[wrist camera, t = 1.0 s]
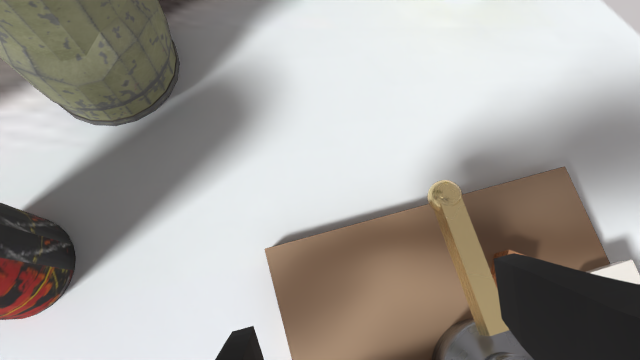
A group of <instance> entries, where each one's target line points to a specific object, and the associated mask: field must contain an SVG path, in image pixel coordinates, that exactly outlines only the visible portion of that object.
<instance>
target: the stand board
mask: <svg viewBox="0 0 640 360" xmlns="http://www.w3.org/2000/svg"><path fill="white" fill-rule="evenodd" d="M462 196H463V198H462V199H463V202H464V205H465V207H466V210H467V212H468V215H469V217H470V220H471V223H472V225H473V228H474V230H475V233H476V235H477V238H478V241H479V243H480V246H481V248H482V251H483V254H484V256H485V259H486V261H487V264H488V266H489V269H490V272H491V268H492V263H493V258H494V254H495V253H498V252H502V251H506V250H512V251H514V252H517V253H520V254H523V255H526V256H529V257H533V258H536V259H540V260H544V261H547V262H551V263H554V264H558V265H562V266H565V267H569V268H572V269H576V270H580V271H584V272H586V271H590V270H593V269H596V268H599V267H602V266H605V265H609V264H610V262H609V260H608V258H607V256H606V254H605V252H604V249H603V247H602V245H601V243H600V241H599V239H598V236H597V234H596V232H595V230H594V228H593V226H592V224H591V221H590V219H589V217H588V215H587V213H586V211H585V209H584V206H583V204H582V202H581V200H580V198H579V196H578V193H577V191H576V189H575V187H574V185H573V183H572V181H571V178H570V176H569V174H568V172H567V170H566V168H565V167H561V168H557V169H554V170H550V171H546V172H543V173H539V174H535V175H532V176H528V177H525V178H521V179H517V180H514V181H510V182H506V183H503V184H499V185H495V186H492V187H488V188H484V189H481V190H477V191H474V192H470V193H466V194H463V195H462ZM265 253H266V257H267V261H268V265H269V269H270V273H271V277H272V281H273V285H274V289H275V293H276V297H277V301H278V305H279V309H280V313H281V317H282V321H283V325H284V329H285V333H286V337H287V341H288V345H289V349H290V353H291V357H292V360H431V359H432V354H433V351H434V348H435V346H436V344H437V342H438V340H439V339H440V337H441V336H442V335H443V333H444V332H445V331H446V330H447V329H449V328H450V327H451V326H452V325H454V324H456V323H458V322H460V321H462V320H466V319H470V318H473V316H472V313H471V310H470V308H469V305H468V302H467V299H466V297H465V294H464V291H463V288H462V286H461V283H460V280H459V278H458V275H457V272H456V269H455V267H454V264H453V261H452V258H451V256H450V253H449V250H448V248H447V245H446V242H445V239H444V237H443V234H442V231H441V228H440V226H439V223H438V220H437V217H436V215H435V212H434V209H432V207H431V206H430V205H429V204H426V205H423V206H419V207H415V208H412V209H408V210H404V211H401V212H397V213H394V214H390V215H386V216H383V217H379V218H375V219H372V220H368V221H364V222H361V223H357V224H353V225H350V226H346V227H343V228H339V229H335V230H332V231H328V232H324V233H321V234H317V235H313V236H310V237H306V238H303V239H299V240H295V241H292V242H288V243H284V244H281V245H277V246H273V247H270V248H266V249H265Z"/></svg>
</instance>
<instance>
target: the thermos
mask: <svg viewBox="0 0 640 360" xmlns="http://www.w3.org/2000/svg"><path fill="white" fill-rule="evenodd" d="M0 58H2V59H3V60H4V61H5V62H6V63H7V64H8V65H10V66H11V67H12V68H13V69H14V70H15V71H17V72H18V73H19V74H20V75H21V76H22V77H24V78H25V79H26V80H27V81H28V82H29V83H30V84H32V85H33V86H34V87H35V88H36V89H37V90H39V91H40V92H41V93H43V94H44V95H45V96H46V97H48V98H49V99H50V100H52V101H53V102H55V103H57V104H59V105H60V106H61V107H62V108H63V109H65V110H66V111H67V112H69V113H70V114H71V115H72V116H74V117H75V118H76V119H79V120H82V121H85V122H88V123H91V124H94V125H108V126H117V125H121V124H125V123H130V122H134V121H137V120H139V119H141V118H143V117H144V116H146V115H148V114H150V113H152V112H153V111H155V110H156V109H157V108H158V107H159V106H160V105H161V104H162V103H163V102H164V101H165V100H166V99H167V98H168V97H169V95H170V93H171V91H172V89H173V87H174V86H175V84H176V82H177V79H178V70H179V59H178V55H177V51H176V47H175V44H174V42H173V40H172V39H171V35H170V31H169V27H168V23H167V20H166V18H165V16H164V13H163V11H162V9H161V6H160V4H159V2H158V0H0Z"/></svg>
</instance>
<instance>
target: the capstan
mask: <svg viewBox="0 0 640 360" xmlns="http://www.w3.org/2000/svg"><path fill="white" fill-rule="evenodd" d="M462 198H463V196H462V191H461V189H460V188H459V186H458V185H457V184H455V183H454V182H452V181H449V180H441V181H438V182H436V183H434V184H433V185H432V186H431V187H430V189H429V191H428V202H429V205H430V206H431V207H432V209H434V212H435V215H436V217H437V220H438V223H439V226H440V228H441V231H442V234H443V237H444V239H445V242H446V245H447V248H448V250H449V253H450V256H451V258H452V261H453V264H454V267H455V269H456V272H457V275H458V278H459V280H460V283H461V286H462V288H463V291H464V294H465V297H466V299H467V302H468V305H469V308H470V310H471V313H472V316H473V318H470V319H466V320H462V321H460V322H458V323H456V324H454V325H452V326H451V327H450V328H449V329H447V330H446V331H445V332H444V333H443V335H442V336H441V337H440V339H439V340H438V342H437V344H436V346H435V348H434V351H433V354H432V359H431V360H534V359H533V358H532V357H531V356H530V355H529V354H528V353H527V352H526V351H525V349H524V348H523V347H522V346H521V345H520V343H519V342H518V341H517V339H516V338H515V337H514V335H513V334H512V333H511V331H510V330H509V328H508V327H507V326H506V324H505V323H504V321H503V320H502V317H501V310H500V303H499V295H498V288H497V281H496V274H495V266H494V258H498V257H501V256H505V255H508V254H512V253H515V254H520V253H517V252H514V251H512V250H506V251H502V252H498V253H495V254H494V258H493V263H492V268H491V272H490V269H489V266H488V264H487V261H486V259H485V256H484V254H483V251H482V248H481V246H480V243H479V241H478V238H477V235H476V233H475V230H474V228H473V225H472V223H471V220H470V217H469V215H468V212H467V210H466V207H465V205H464V202H463V199H462ZM520 255H523V254H520ZM525 256H526V255H525Z"/></svg>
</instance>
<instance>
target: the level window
mask: <svg viewBox="0 0 640 360" xmlns="http://www.w3.org/2000/svg"><path fill="white" fill-rule="evenodd" d="M586 272H587V273H591V274H595V275H599V276H603V277H608V278H612V279H617V280H621V281H625V282H630V283H635V284H640V275H639V272H638V270H637V268H636V266H635V264H634V262H633V260H626V261H619V262H615V263H612V264H609V265H605V266H602V267H599V268H596V269H593V270H590V271H586Z"/></svg>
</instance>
